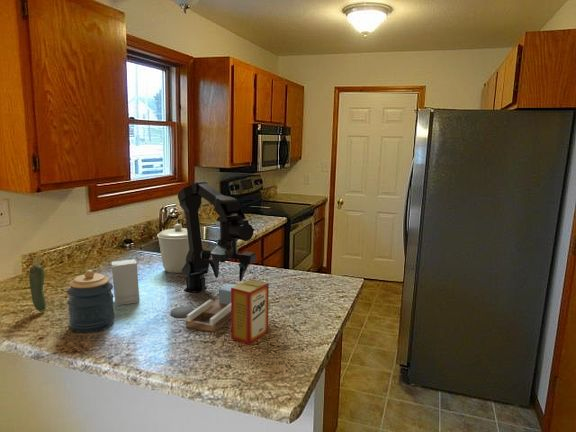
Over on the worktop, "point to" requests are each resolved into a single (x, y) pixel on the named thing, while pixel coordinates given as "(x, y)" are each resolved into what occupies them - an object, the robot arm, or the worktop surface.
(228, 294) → the block
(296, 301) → the worktop surface
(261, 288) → the baking soda box
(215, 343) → the worktop surface
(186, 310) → the coaster
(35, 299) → the vegetable
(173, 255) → the canister
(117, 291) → the skincare box
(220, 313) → the channel walls
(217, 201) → the robot arm
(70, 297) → the canister
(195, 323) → the channel base plate
